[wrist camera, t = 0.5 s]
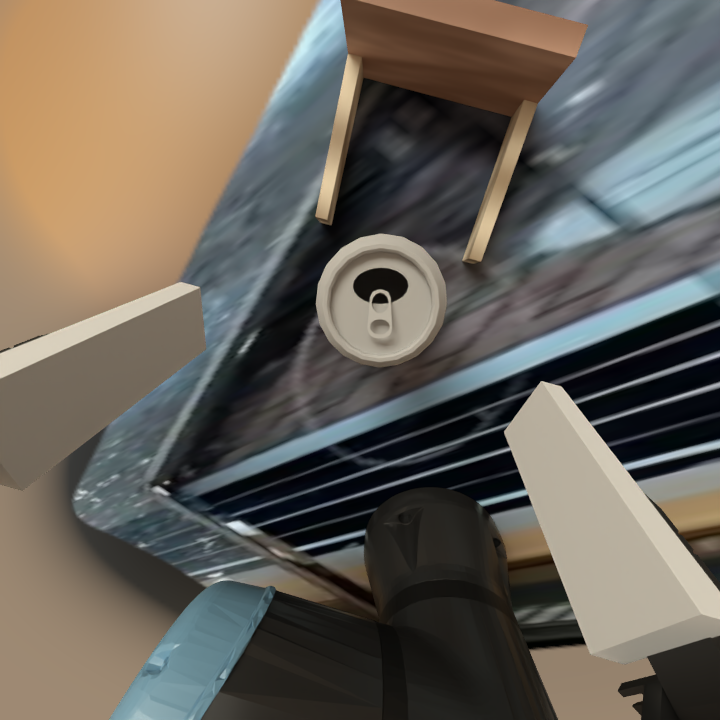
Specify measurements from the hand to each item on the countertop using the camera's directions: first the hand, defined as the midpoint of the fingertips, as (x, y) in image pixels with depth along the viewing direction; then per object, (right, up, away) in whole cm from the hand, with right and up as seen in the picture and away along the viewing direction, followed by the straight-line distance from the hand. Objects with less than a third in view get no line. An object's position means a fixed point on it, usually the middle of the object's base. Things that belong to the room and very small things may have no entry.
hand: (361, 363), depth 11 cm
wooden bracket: (+5, +17, +12) cm, 21 cm away
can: (+2, +6, +15) cm, 16 cm away
